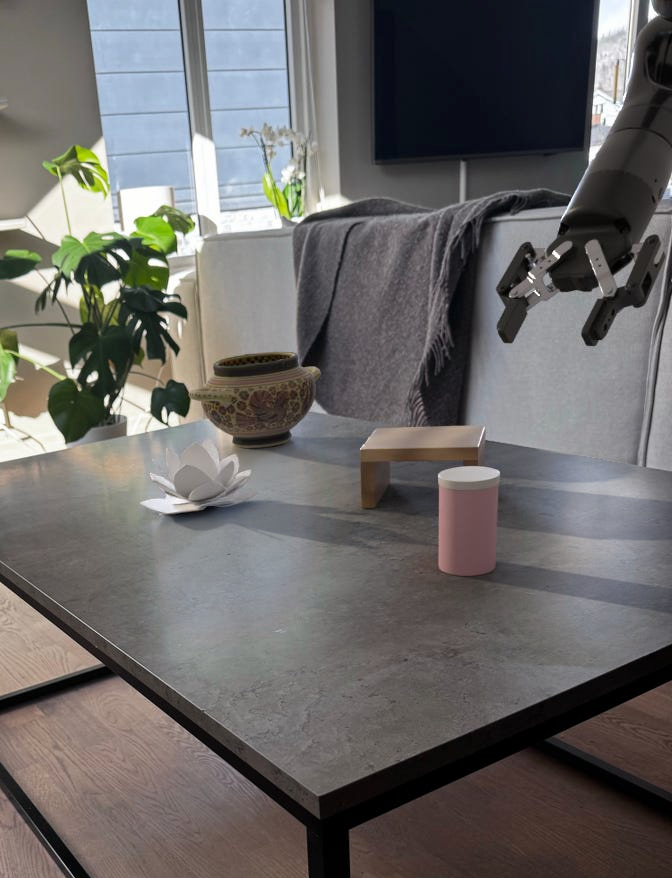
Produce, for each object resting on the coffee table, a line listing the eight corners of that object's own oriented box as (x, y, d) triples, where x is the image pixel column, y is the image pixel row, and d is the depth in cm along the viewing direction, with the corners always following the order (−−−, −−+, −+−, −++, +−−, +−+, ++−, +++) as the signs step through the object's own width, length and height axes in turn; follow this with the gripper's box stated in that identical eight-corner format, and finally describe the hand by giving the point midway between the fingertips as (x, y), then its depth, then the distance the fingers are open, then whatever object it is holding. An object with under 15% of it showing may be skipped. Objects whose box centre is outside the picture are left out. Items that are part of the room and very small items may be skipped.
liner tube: (498, 557, 88) (501, 465, 85) (494, 577, 84) (498, 481, 80) (440, 556, 90) (441, 466, 87) (434, 575, 86) (434, 481, 82)
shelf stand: (484, 482, 112) (485, 424, 109) (476, 508, 103) (478, 446, 100) (377, 482, 117) (376, 427, 114) (361, 508, 107) (359, 449, 104)
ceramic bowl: (299, 438, 157) (280, 349, 154) (365, 423, 141) (346, 324, 138) (177, 469, 146) (154, 374, 143) (234, 456, 131) (210, 350, 128)
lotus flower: (117, 514, 115) (112, 443, 112) (200, 497, 125) (198, 432, 122) (197, 525, 105) (194, 448, 102) (281, 506, 115) (280, 435, 112)
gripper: (535, 174, 90) (463, 313, 88) (684, 157, 80) (605, 314, 78) (561, 229, 95) (493, 361, 93) (704, 219, 85) (630, 367, 83)
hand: (544, 339), depth 86 cm, fingers open, 8 cm apart
